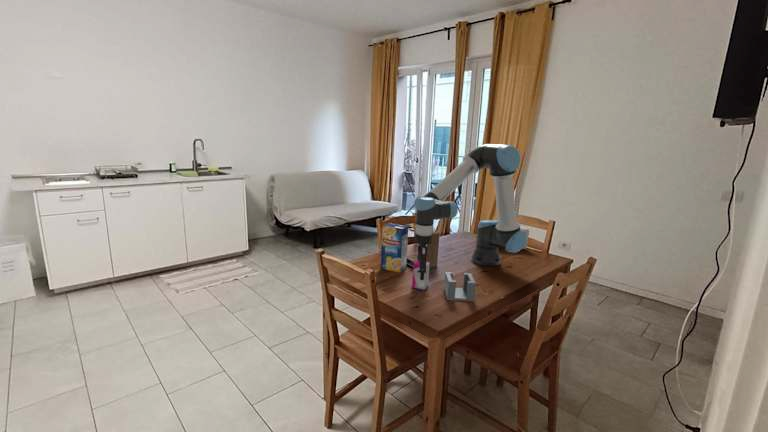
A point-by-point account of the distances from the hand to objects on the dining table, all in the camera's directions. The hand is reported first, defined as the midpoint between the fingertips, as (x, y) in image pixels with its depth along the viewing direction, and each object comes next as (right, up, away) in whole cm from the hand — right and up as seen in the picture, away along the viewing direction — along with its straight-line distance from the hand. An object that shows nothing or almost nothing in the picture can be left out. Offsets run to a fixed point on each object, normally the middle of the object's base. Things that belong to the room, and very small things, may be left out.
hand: (420, 280), depth 162 cm
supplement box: (0, -3, +1) cm, 3 cm away
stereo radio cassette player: (+61, +8, +68) cm, 92 cm away
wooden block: (+7, +2, +27) cm, 28 cm away
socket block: (+16, -5, -5) cm, 18 cm away
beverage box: (-11, +2, +23) cm, 25 cm away
